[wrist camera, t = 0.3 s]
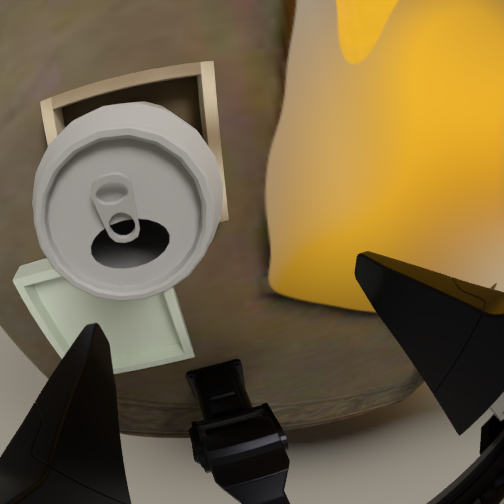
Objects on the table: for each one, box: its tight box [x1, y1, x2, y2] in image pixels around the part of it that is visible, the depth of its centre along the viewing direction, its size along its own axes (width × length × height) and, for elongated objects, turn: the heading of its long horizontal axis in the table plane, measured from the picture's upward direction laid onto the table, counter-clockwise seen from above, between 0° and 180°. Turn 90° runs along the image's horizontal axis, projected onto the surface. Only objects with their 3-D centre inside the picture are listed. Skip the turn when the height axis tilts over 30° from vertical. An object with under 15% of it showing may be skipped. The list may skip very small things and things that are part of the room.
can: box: [32, 101, 223, 301], centre depth 13 cm, size 8×8×12 cm
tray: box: [13, 258, 195, 374], centre depth 22 cm, size 13×13×2 cm
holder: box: [40, 61, 229, 222], centre depth 17 cm, size 11×11×2 cm
